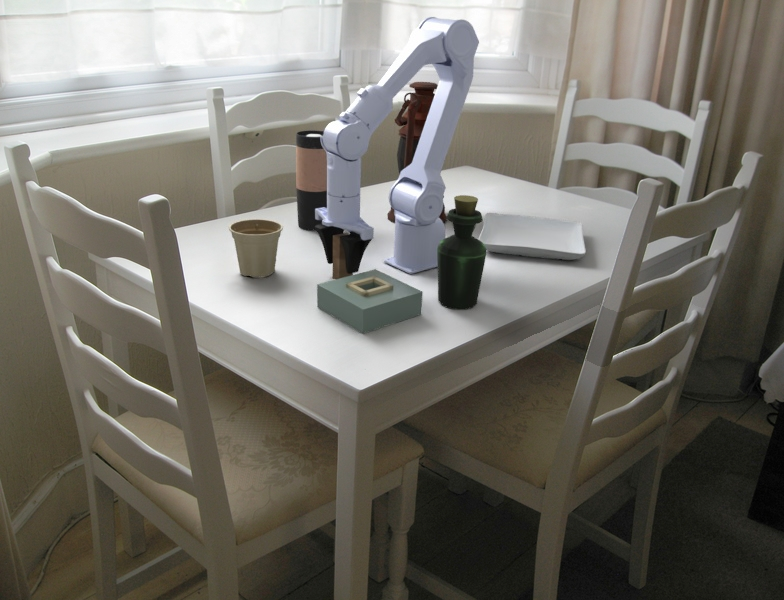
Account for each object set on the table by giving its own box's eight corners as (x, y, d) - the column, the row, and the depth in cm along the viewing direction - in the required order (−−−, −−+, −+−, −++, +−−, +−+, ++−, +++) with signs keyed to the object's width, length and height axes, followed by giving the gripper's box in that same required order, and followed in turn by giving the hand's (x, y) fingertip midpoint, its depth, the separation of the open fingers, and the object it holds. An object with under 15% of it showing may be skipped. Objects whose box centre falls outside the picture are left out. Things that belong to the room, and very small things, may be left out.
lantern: (431, 233, 153) (440, 90, 141) (373, 223, 158) (377, 84, 146) (458, 213, 168) (468, 82, 156) (404, 205, 173) (410, 77, 161)
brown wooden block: (332, 277, 127) (332, 235, 124) (346, 274, 129) (346, 232, 126) (339, 281, 126) (339, 238, 123) (352, 277, 128) (353, 235, 124)
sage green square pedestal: (374, 290, 122) (375, 265, 121) (421, 314, 114) (422, 288, 112) (317, 306, 115) (317, 280, 113) (362, 333, 107) (363, 305, 105)
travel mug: (291, 229, 152) (290, 135, 144) (304, 219, 159) (303, 129, 151) (325, 233, 150) (325, 138, 142) (336, 222, 157) (337, 132, 149)
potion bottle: (491, 302, 120) (502, 199, 113) (462, 316, 114) (471, 208, 107) (452, 289, 125) (460, 189, 117) (423, 301, 119) (430, 197, 112)
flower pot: (260, 259, 134) (258, 215, 131) (294, 272, 129) (294, 226, 126) (220, 271, 128) (217, 226, 124) (254, 286, 122) (252, 238, 119)
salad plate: (584, 268, 138) (587, 252, 136) (475, 257, 141) (477, 240, 140) (580, 235, 157) (582, 220, 156) (484, 226, 161) (485, 211, 159)
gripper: (300, 187, 124) (301, 259, 129) (350, 206, 114) (349, 284, 119) (333, 181, 128) (333, 252, 133) (384, 200, 118) (381, 276, 123)
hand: (342, 267), depth 127 cm, fingers open, 5 cm apart
